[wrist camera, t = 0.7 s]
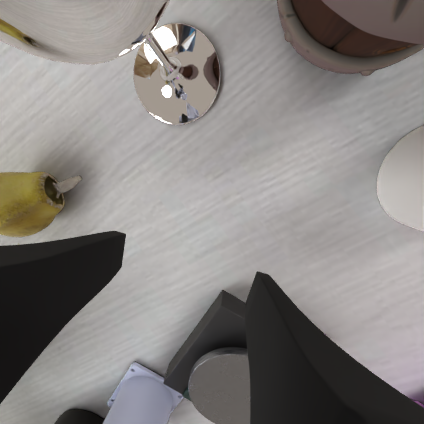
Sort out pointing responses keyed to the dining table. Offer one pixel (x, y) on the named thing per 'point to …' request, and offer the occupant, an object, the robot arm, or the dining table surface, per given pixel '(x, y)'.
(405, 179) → the cylinder with rectangular tab
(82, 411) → the mug
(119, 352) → the dining table surface
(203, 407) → the scale pan
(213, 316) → the scale
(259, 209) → the dining table surface
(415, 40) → the flowerpot
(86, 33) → the wineglass
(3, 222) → the fruit
